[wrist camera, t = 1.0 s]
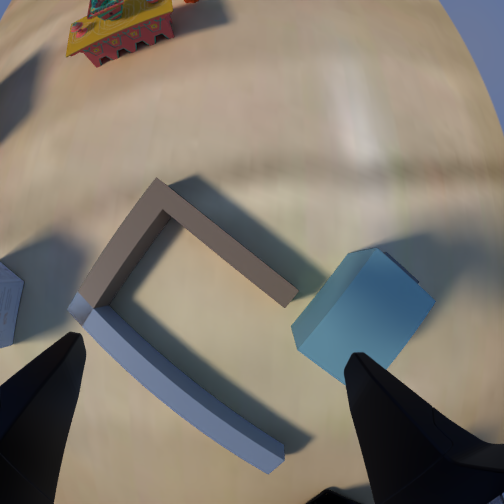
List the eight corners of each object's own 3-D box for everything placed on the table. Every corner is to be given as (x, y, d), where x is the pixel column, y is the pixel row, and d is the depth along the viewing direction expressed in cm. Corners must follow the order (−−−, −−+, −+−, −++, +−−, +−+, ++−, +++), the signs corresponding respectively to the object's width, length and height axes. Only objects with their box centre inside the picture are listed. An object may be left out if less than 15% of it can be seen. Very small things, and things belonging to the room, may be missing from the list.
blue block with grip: (398, 286, 23) (441, 292, 16) (339, 363, 23) (362, 397, 16) (352, 247, 23) (382, 239, 16) (290, 326, 23) (297, 349, 16)
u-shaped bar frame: (373, 349, 22) (383, 357, 20) (269, 458, 22) (268, 474, 20) (167, 185, 24) (156, 177, 22) (83, 306, 24) (67, 309, 22)
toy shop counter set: (-19, 102, 28) (-78, 68, 13) (198, -10, 26) (169, -99, 11) (-29, 176, 27) (-104, 151, 13) (215, 58, 25) (179, -59, 11)
